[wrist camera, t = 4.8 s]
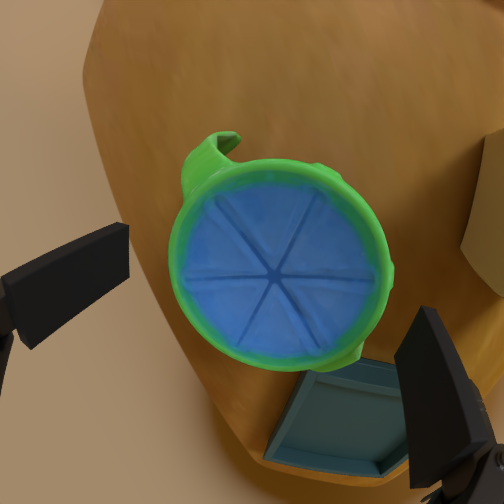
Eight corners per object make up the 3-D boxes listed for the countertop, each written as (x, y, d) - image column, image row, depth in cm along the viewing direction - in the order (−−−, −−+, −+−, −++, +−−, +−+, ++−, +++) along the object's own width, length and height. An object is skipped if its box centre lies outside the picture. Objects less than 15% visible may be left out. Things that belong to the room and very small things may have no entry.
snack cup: (195, 172, 22) (108, 190, 13) (308, 103, 18) (287, 58, 9) (285, 327, 24) (256, 414, 15) (396, 284, 20) (427, 369, 11)
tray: (461, 375, 21) (469, 397, 18) (383, 459, 28) (383, 478, 25) (312, 345, 24) (307, 370, 21) (268, 439, 32) (262, 459, 29)
